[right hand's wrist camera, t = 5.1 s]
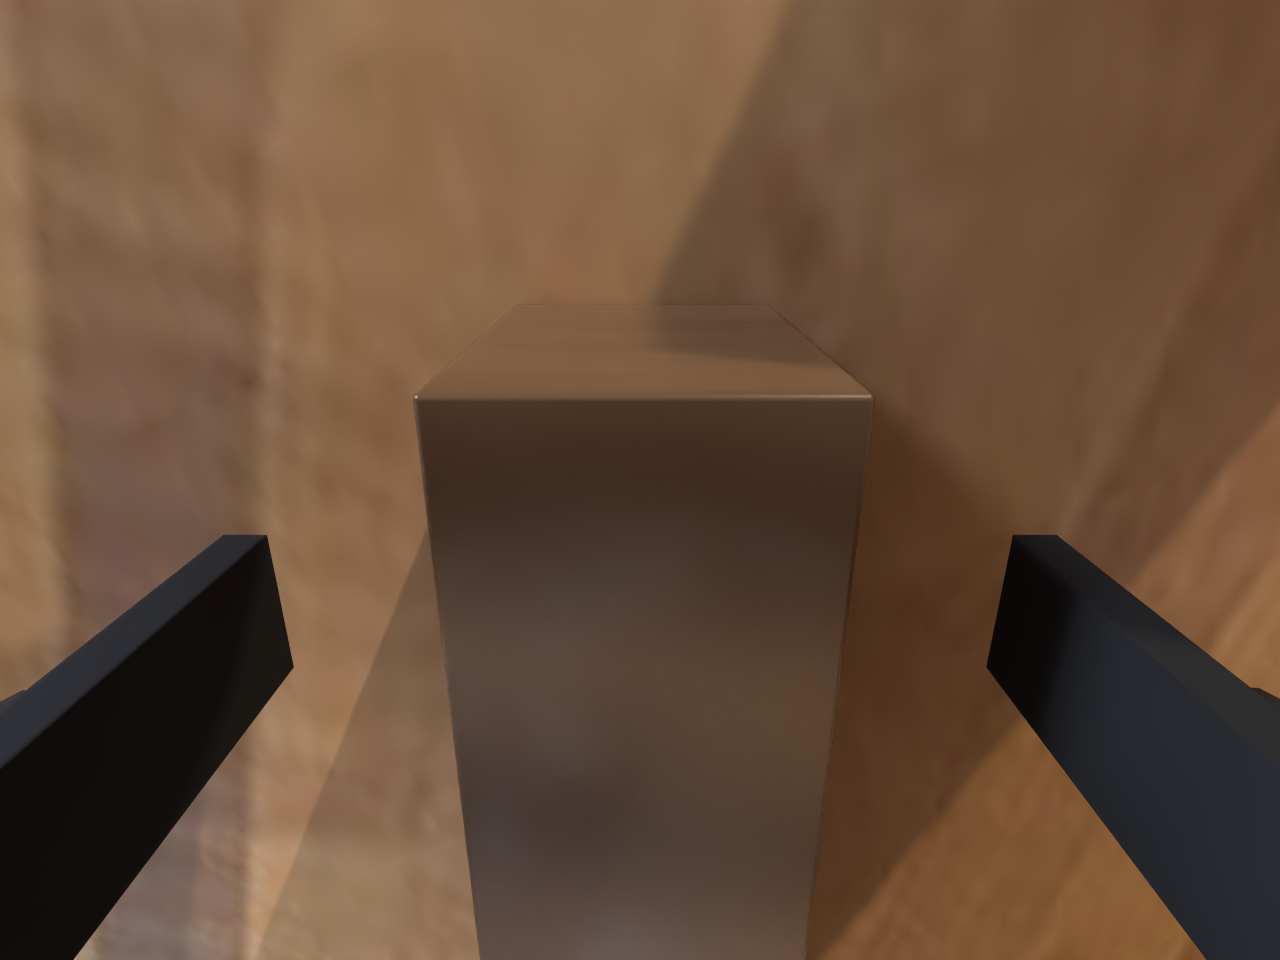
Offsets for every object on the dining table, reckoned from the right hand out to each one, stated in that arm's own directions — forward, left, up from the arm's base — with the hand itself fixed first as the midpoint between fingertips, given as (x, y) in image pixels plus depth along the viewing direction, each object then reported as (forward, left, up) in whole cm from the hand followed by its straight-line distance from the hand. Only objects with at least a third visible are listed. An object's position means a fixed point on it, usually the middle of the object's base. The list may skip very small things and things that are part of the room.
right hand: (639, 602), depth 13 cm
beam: (+11, -19, -5) cm, 22 cm away
